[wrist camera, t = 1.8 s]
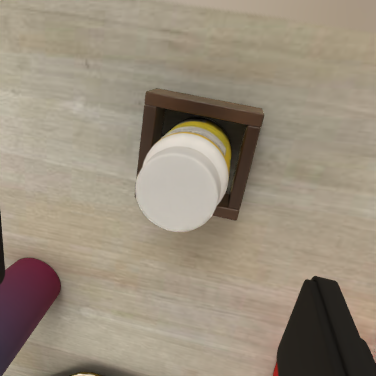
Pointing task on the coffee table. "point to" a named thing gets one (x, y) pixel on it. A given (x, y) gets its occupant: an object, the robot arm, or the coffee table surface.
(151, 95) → the holder
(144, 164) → the supplement bottle
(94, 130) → the coffee table surface
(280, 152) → the coffee table surface
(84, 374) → the plate
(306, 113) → the coffee table surface
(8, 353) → the cup
